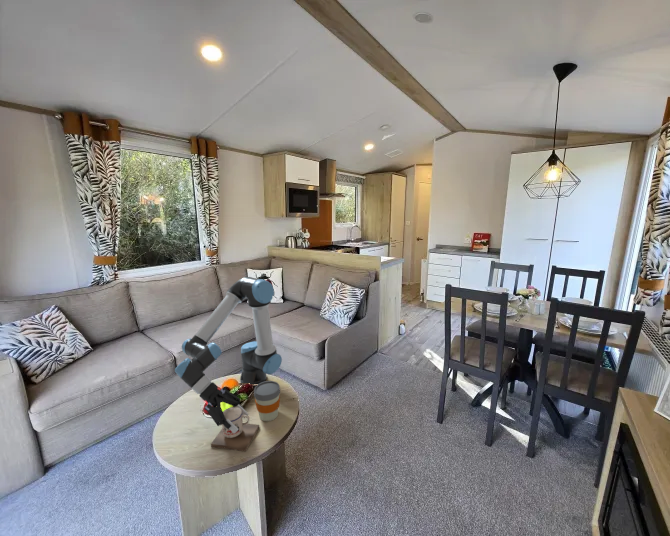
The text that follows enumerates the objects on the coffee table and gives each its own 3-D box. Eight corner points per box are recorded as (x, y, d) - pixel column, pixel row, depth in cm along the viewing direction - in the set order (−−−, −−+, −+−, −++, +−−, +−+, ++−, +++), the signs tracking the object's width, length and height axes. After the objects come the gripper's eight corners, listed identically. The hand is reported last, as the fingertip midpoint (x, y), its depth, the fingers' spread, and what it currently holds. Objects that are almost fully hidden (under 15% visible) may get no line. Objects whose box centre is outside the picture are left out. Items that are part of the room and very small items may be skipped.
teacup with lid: (220, 440, 128) (218, 416, 126) (224, 425, 137) (222, 402, 135) (249, 436, 130) (247, 413, 128) (251, 421, 139) (249, 399, 137)
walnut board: (227, 423, 142) (227, 421, 142) (259, 427, 139) (259, 424, 139) (211, 446, 128) (210, 443, 128) (245, 451, 126) (245, 448, 125)
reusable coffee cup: (250, 420, 144) (248, 393, 141) (264, 404, 156) (262, 378, 153) (273, 426, 140) (271, 398, 137) (286, 409, 152) (284, 383, 149)
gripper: (214, 379, 143) (247, 411, 143) (184, 408, 122) (223, 446, 122) (223, 370, 141) (257, 403, 141) (194, 398, 120) (234, 437, 120)
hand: (241, 423), depth 132 cm, fingers closed on teacup with lid, 9 cm apart
